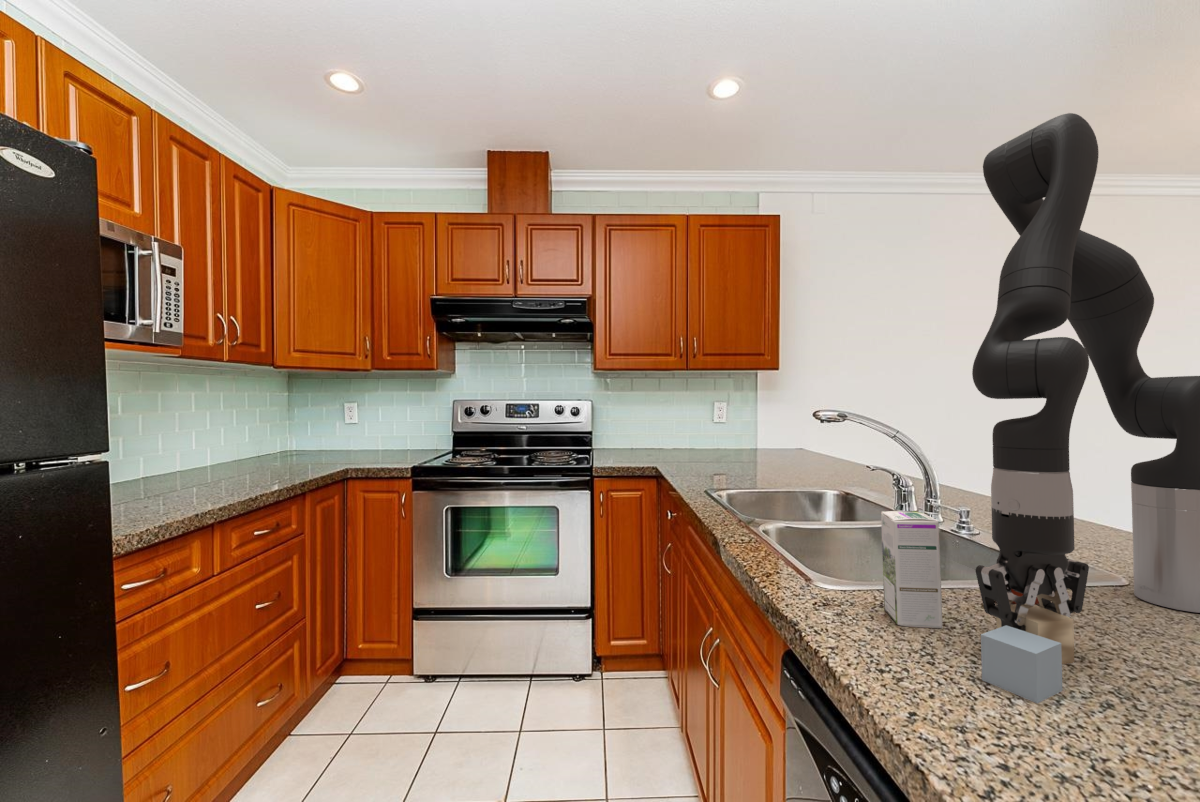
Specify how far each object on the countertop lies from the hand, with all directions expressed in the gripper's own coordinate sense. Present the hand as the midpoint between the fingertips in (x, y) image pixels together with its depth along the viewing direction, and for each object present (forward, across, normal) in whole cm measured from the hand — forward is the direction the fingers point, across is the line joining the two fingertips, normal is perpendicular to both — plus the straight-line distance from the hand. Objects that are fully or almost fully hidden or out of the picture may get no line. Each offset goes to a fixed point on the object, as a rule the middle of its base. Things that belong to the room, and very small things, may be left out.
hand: (1034, 650), depth 61 cm
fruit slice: (+1, -14, -13) cm, 19 cm away
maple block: (0, 0, 0) cm, 0 cm away
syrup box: (+1, +6, -12) cm, 13 cm away
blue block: (+1, +8, +5) cm, 10 cm away
